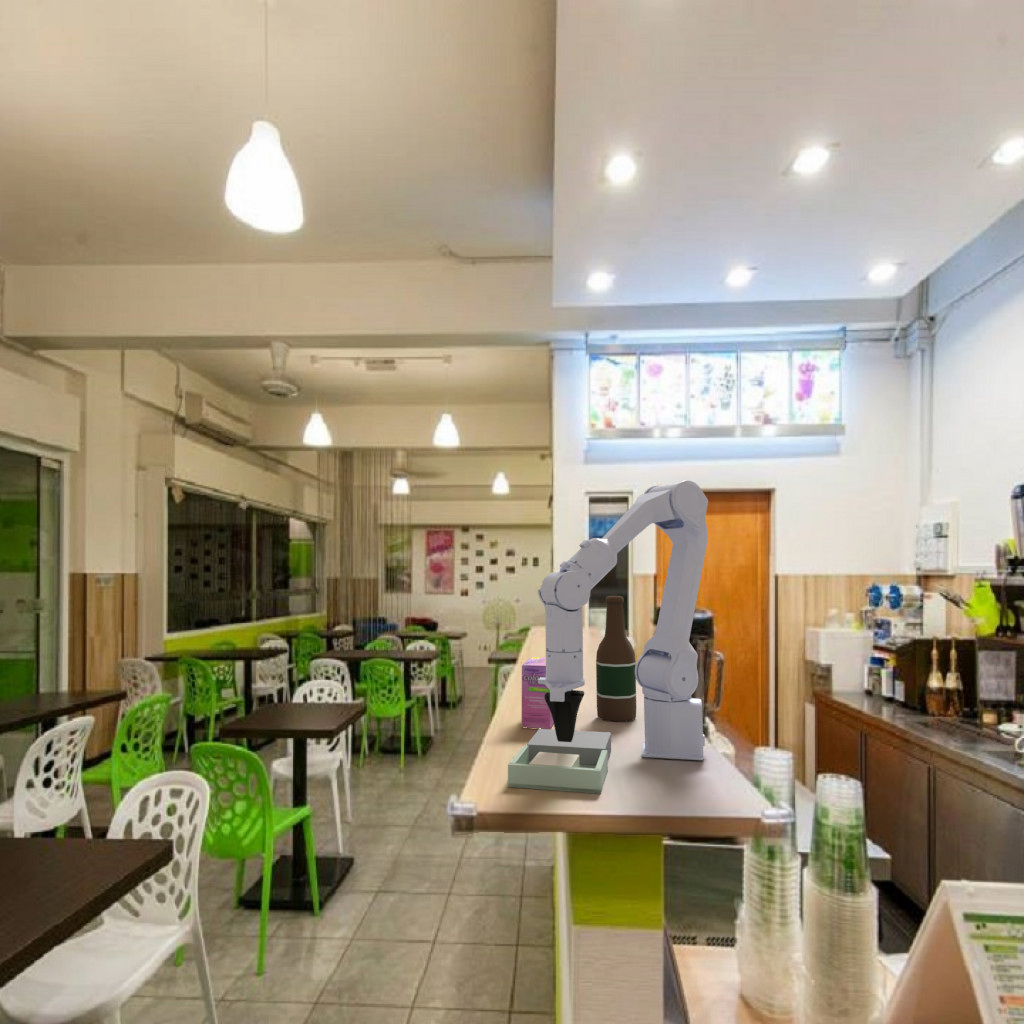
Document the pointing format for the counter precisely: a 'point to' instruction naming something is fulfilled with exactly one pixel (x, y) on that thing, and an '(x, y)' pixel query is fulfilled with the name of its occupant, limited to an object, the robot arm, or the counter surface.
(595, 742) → the bench plate
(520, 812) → the counter surface
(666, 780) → the counter surface
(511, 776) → the bin
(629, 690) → the beer bottle
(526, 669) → the box
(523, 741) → the counter surface
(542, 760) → the tile
